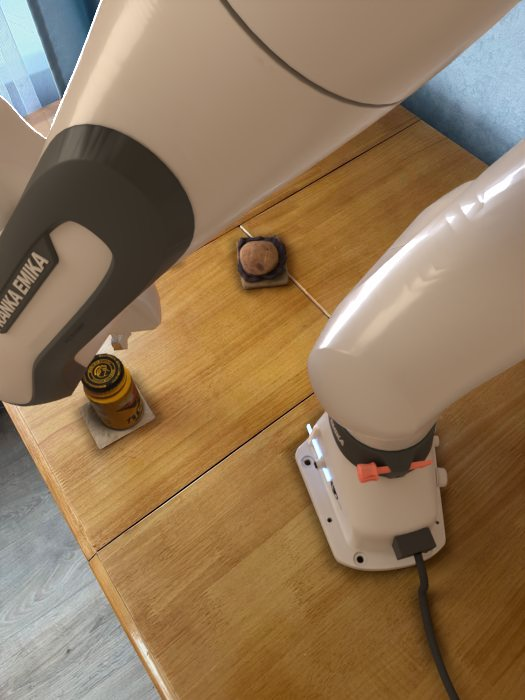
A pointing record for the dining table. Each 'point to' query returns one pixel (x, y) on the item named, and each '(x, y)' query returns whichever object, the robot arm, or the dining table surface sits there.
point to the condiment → (112, 401)
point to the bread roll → (262, 262)
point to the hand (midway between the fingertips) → (78, 349)
